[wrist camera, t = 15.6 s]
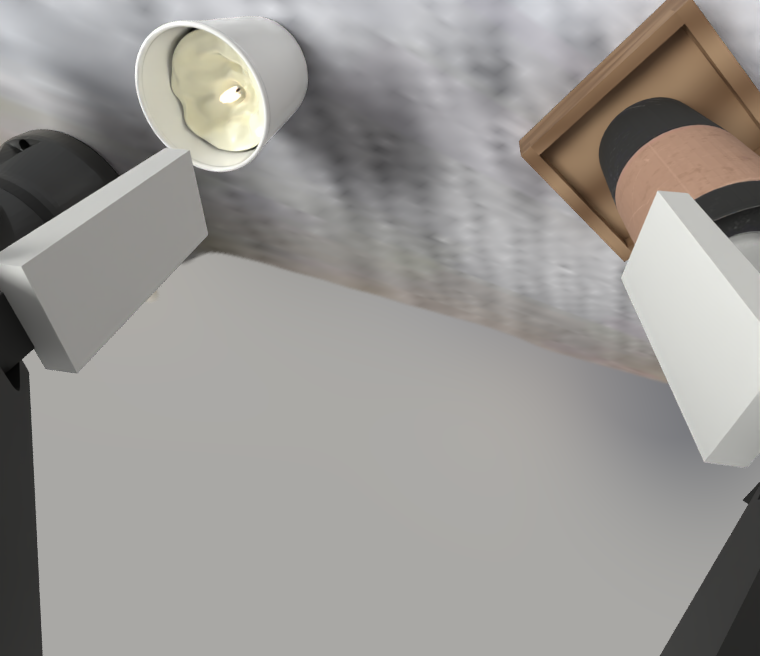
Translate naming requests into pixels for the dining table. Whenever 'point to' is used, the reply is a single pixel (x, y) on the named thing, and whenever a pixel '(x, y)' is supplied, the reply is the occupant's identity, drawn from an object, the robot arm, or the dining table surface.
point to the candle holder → (220, 86)
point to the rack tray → (628, 86)
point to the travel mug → (682, 169)
